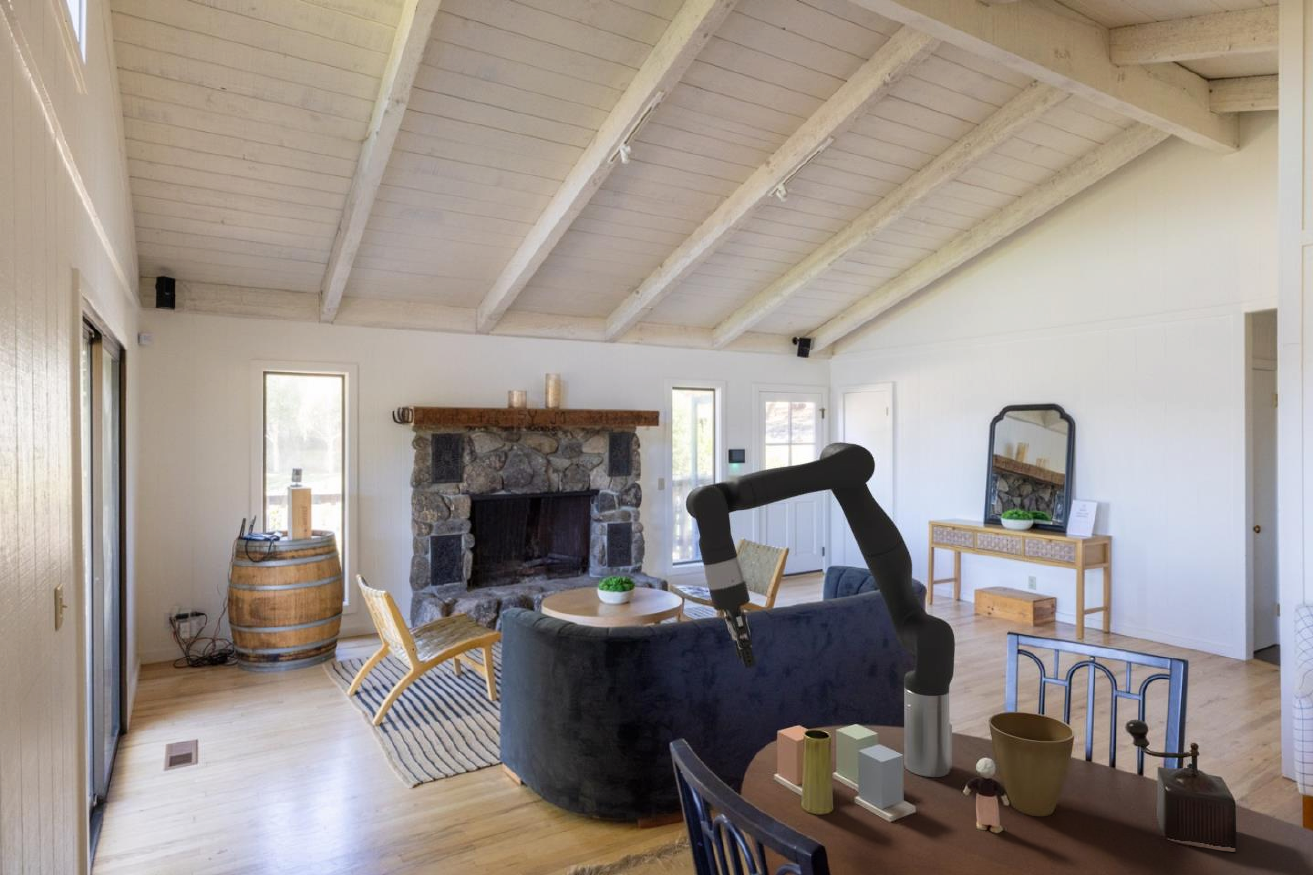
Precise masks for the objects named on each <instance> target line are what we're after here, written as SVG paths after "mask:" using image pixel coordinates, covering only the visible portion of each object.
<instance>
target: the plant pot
mask: <svg viewBox="0 0 1313 875" xmlns="http://www.w3.org/2000/svg"><path fill="white" fill-rule="evenodd" d="M988 723H989V724H988V725H989V731H990V737H991V743H992V748H993V752H994V757H995V761H996V764H997V768H998V770H999V774H1000V775H999V776H1000V777H1001V780H1002V781H1001V782H1002V783H1003V787H1004V791H1005V792H1006V796H1007V798H1008V799H1009V800H1008V801H1009V803H1010V805H1011V806H1012V808H1013V809H1015V810H1016V811H1018V812H1020V813H1023V814H1025V815H1029V816H1033V817H1034V816H1035V817H1048V816H1050V815H1052V814H1053V813H1054V810H1055V809H1056V806H1057V804H1058V802H1059V800H1060V797H1061V794H1062V792H1063V788H1064V786H1065V782H1066V779H1067V775H1068V772H1069V769H1070V768H1069V767H1070V763H1071V759H1072V754H1073V749H1074V748H1073V747H1074V741H1075V734H1076V732H1075V730H1074V729H1073V727H1072V726H1070V725H1069V724H1068V723H1067V722H1064V721H1062V720H1060V719H1057V718H1055V717H1051V716H1048V715H1045V714H1040V713H1035V712H1026V711H1025V712H1024V711H1004V712H1000V713H996V714H993V715H992V716H991V717H989V719H988Z"/></svg>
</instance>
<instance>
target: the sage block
mask: <svg viewBox="0 0 1313 875" xmlns="http://www.w3.org/2000/svg"><path fill="white" fill-rule="evenodd" d="M835 745H836V746H835V748H836V750H835V751H836V752H835V755H836V756H835V759H836V760H835V761H836V762H835V769H836V771H835V772H837V773H838V774H840V775H842V776H844V777H846V778H848V779H850V780H852V781H854V782H856V783H858V751H859V750H862V749H866V748H869V747H872V746H875V745H879V733H878V732H877V731H875V730H874V731H873V730H871V729H869V728H867V727H864V726H862V725H861V724H857V723H854V724H852V725H848V726H845V727H841V728H838V729H836V730H835Z"/></svg>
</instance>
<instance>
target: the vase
mask: <svg viewBox="0 0 1313 875" xmlns="http://www.w3.org/2000/svg"><path fill="white" fill-rule="evenodd" d="M833 794H834V793H833V772H832V734H831V733H830V732H828V731H826V730H824V729H819V728H818V729H817V728H810V729H808V730H806V731H805V732H804V752H803V784H802V796H801V804H800V805H801V808H802V809H803V810H804V811H805V812H807V813H810V814H813V815H820V816H821V815H828V814H831V812H833V811H834V800H833V799H834V798H833Z"/></svg>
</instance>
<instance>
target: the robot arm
mask: <svg viewBox="0 0 1313 875" xmlns="http://www.w3.org/2000/svg"><path fill="white" fill-rule="evenodd" d="M875 461H876V460H875V458H874V456H873V454H872V453H871V452H870V450H868V448H866V447H865V446H862V445H860V444H857V443H852V442H850V443H849V442H841V441H840V442H832V443H830V444H828V445H826V446H825V447H824V448H823V449H822V451H821V453H820V455H819V459H817V460H813V461H810V462H809V461H808V462H805V463H800V464H796V465H795V464H794V465H787V466H780V467H774V468H768V469H763V470H759V471H754V472H751V473H747V474H744V475H743V474H742V475H741V476H740V475H739V476H738V477H734V478H732V479H729V480H726V481H720V482H716V483H711V484H707V485H706V484H705V485H701V486H698V487H696V488H693V489H692V490H691V491H690V492H689V493H688V495H687V497H686V500H685V508H686V510H687V513H688V514H689V515H690V516H691V517H692V519H695V521H696V525H697V529H698V532H699V539H698V546H699V551H700V556H701V559H702V564H703V567H704V574H705V575H704V576H705V580H706V585H707V587H708V591H709V595H710V599H711V603H712V607H713V609H714V610H715V611H719V612H720V611H721V612H722V611H723V612H724V613H725V616H724V620H725V623H726V625H727V630H728V632H729V634H730V636H731V640H733V643H734V647H735V650H736V654H737V658H738V659H739V660H742V662H743V666H744V668H745V669H749V668H754V667H756V665H757V664H756V663H757V662H756V660H755V656H754V653H753V648H752V647H753V643H754V642H753V640H752V638H751V630H750V628H749V624H748V617H747V615H746V613H745V612H744V611H742V610H741V608H742V606H745V605H747V604H749V602H750V601H751V598H750V593H749V589H748V587H747V584H746V583H747V582H746V579H745V575H744V571H743V568H742V564H741V562H740V560H739V557H738V553H737V549H736V546H735V541H734V538H733V535H732V530H731V528H732V527H731V520H730V513H734V512H737V511H748V510H753V509H755V508H760V507H763V506H766V505H769V504H773V503H777V502H781V501H784V500H787V499H788V500H789V499H791V498H795V497H798V496H803V495H808V494H811V493H812V494H813V493H817V492H822V491H828V490H830V491H831V492H832V494H833V495H834V497H835V499H836V500H837V503H838V504H839V506H840V507H841V509H842V512H843V513H844V517H845V519H846V521H847V523H848V526H849V528H850V530H851V533H852V535H853V537H854V538H855V541H856V544H857V546H858V548H859V551H860V554H861V555H862V558H863V559H864V561H865V563H866V566H867V568H868V570H869V571H870V574H871V575H872V578H873V580H874V582H875V584H876V586H877V588H878V590H879V593H880V594H881V595H880V596H882V598H883V601H884V603H885V606H886V608H887V610H888V614H889V617H890V620H891V623H892V625H893V629H894V631H895V635H896V637H897V639H898V641H899V644H900V645H901V646H902V648H904V649H905V650H907V651H908V652H909V653H911V654H914V656H915V669H913V670H910V671H907V672H906V673H905V675H904V680H903V682H904V683H903V686H904V688H903V689H904V690H903V692H904V696H903V697H904V698H903V699H904V704H903V705H904V708H903V709H904V711H903V712H904V714H903V715H904V718H903V719H904V728H903V729H904V735H903V736H904V738H903V739H904V743H903V744H904V749H903V750H904V752H903V753H904V754H903V766H904V768H906V770H907V771H909V772H910V773H912V774H915V775H918V776H923V777H929V778H940V777H945V776H947V775H949V773H950V770H951V769H953V726H952V724H951V723H950V685H951V684H952V683H951V682H952V680H953V677H954V673H955V672H954V671H955V669H954V668H955V650H956V649H955V648H956V646H955V645H956V643H955V642H956V640H955V634H954V629H953V628H952V627H951V625H950V624H949V623H948V622H947V621H946V620H944V619H942V618H940V617H936V616H934V615H931V614H928V612H926V611H925V609H924V607H923V606H922V604H921V602H920V601H919V599H918V596H917V594H916V592H915V590H914V587H913V560H912V557H911V554H910V551H909V549H908V546H907V544H906V543H905V540H904V538H903V535H902V534H901V532H900V530H899V528H898V527H897V525H896V524H895V523H894V521H893V520H892V519H891V518H890V516H889V515H888V514H887V512H886V511H885V510H884V509H883V507H882V506H880V504H879V502H878V501H877V500H876V499H875V498H874V496H873V495H872V492H871V491H870V488H869V486H868V484H867V483H868V482H869V481H870V479H871V478H872V477H873V475H874V473H875V469H876V462H875Z"/></svg>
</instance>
